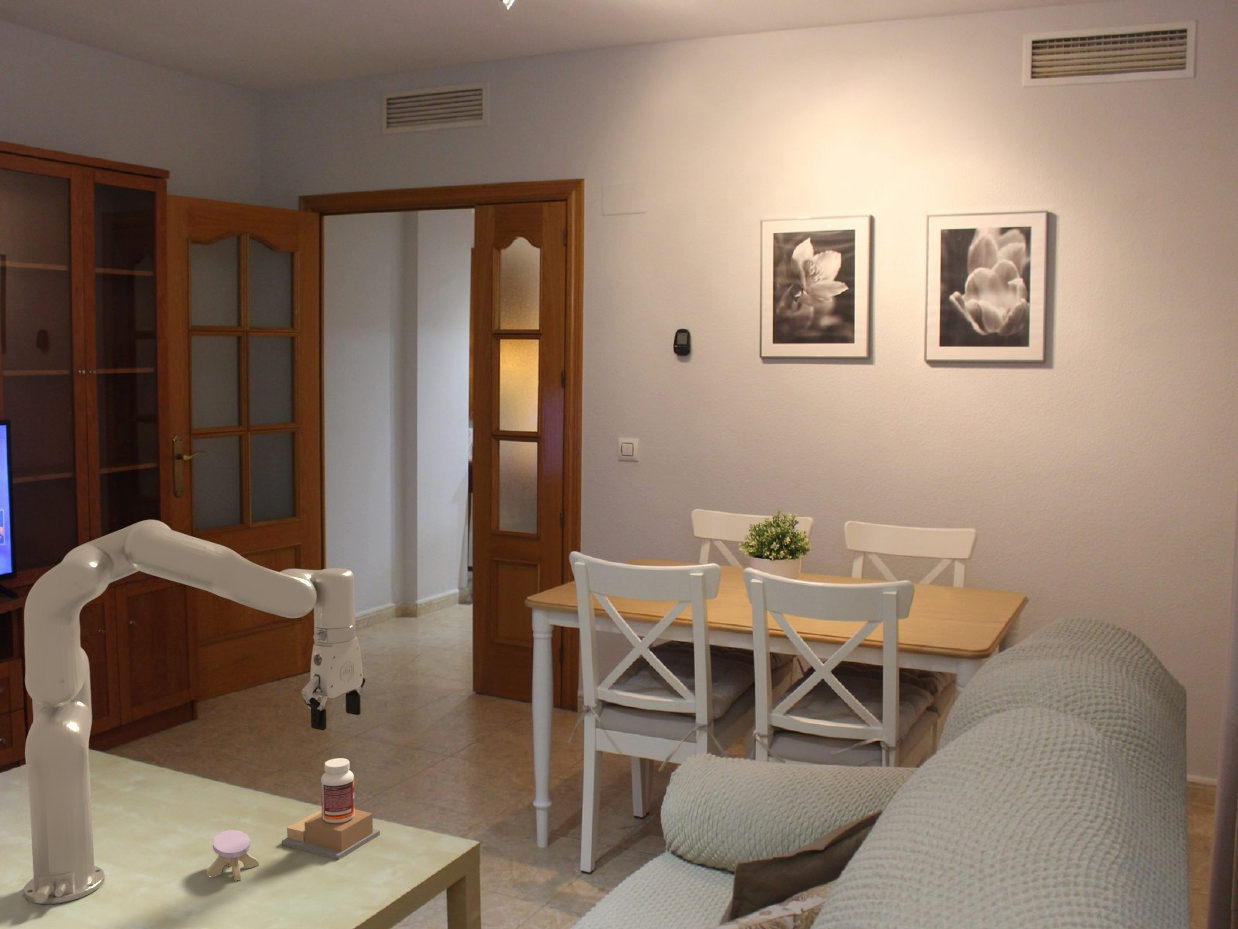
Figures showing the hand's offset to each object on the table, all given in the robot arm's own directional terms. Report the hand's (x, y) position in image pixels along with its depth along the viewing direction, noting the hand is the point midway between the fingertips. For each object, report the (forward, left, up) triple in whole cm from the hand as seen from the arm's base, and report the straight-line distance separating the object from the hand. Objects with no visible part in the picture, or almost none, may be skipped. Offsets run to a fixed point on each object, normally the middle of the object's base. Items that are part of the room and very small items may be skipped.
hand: (336, 721), depth 203 cm
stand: (+1, +1, -24) cm, 24 cm away
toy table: (-8, +19, -24) cm, 32 cm away
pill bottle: (0, 0, -19) cm, 19 cm away
